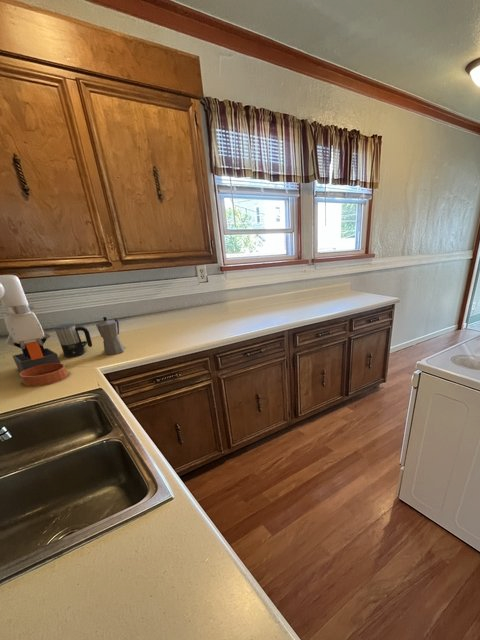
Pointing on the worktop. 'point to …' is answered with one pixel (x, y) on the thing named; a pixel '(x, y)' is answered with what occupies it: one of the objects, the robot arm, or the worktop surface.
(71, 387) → the worktop surface
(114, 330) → the coffeepot
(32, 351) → the block
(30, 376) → the bowl
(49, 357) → the bin
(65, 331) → the milk frother
